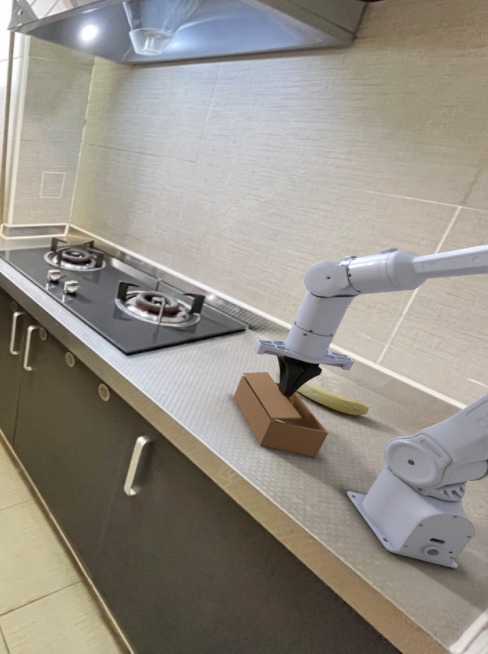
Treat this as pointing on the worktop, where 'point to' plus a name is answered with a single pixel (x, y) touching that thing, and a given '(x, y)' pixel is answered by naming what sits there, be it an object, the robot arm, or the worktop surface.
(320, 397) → the fruit
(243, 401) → the carton
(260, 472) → the worktop surface
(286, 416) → the brown box flap
